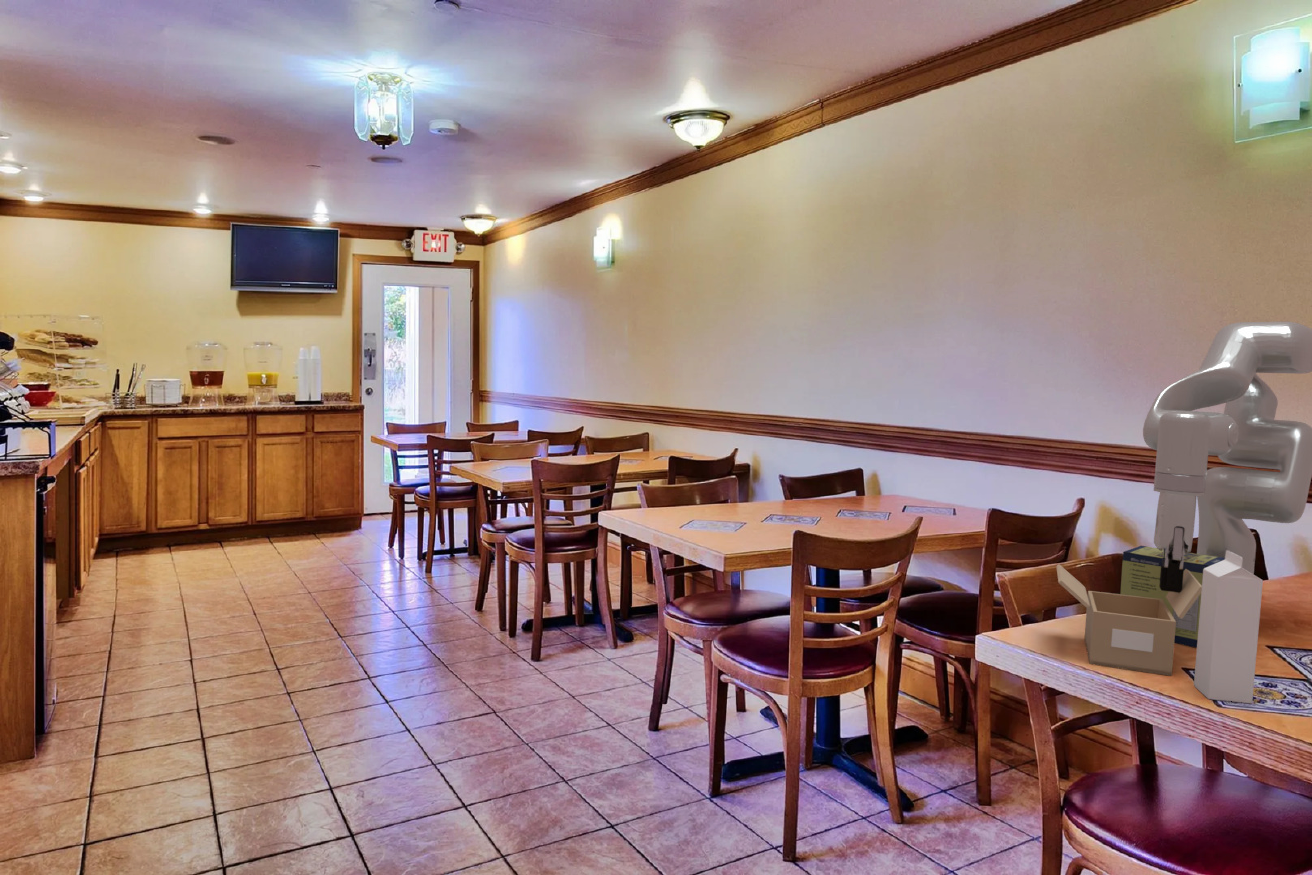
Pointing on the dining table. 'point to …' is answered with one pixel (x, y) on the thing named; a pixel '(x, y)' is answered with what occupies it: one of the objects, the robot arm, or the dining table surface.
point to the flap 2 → (1185, 594)
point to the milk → (1228, 631)
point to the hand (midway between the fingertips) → (1170, 590)
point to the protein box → (1145, 579)
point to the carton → (1130, 633)
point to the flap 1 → (1072, 585)
